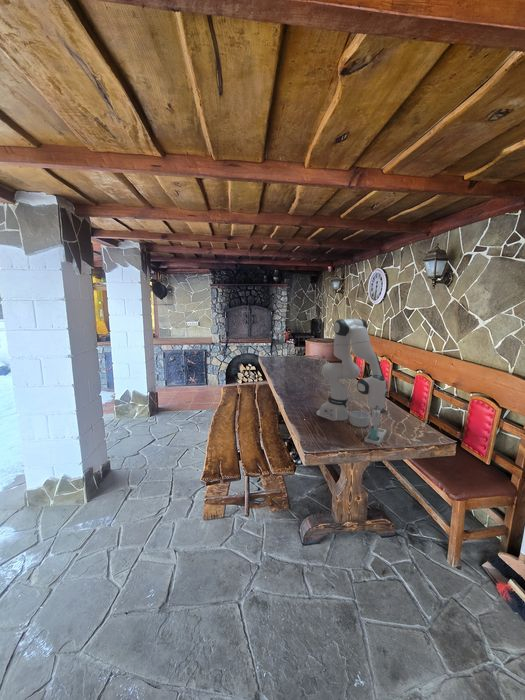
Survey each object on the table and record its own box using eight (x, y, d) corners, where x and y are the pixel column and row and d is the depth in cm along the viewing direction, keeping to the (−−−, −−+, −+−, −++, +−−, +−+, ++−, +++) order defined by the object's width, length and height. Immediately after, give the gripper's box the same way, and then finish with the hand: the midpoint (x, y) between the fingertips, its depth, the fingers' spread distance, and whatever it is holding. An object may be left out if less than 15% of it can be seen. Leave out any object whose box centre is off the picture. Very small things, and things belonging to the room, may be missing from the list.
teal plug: (369, 440, 164) (370, 426, 162) (370, 438, 167) (372, 424, 165) (375, 442, 162) (376, 428, 160) (377, 440, 165) (378, 426, 163)
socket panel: (364, 441, 163) (364, 438, 163) (373, 429, 179) (373, 426, 179) (378, 445, 159) (379, 442, 158) (386, 433, 175) (386, 430, 175)
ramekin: (353, 418, 197) (353, 409, 196) (372, 423, 189) (372, 414, 187) (345, 424, 187) (346, 414, 186) (365, 430, 178) (366, 420, 177)
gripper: (383, 410, 150) (381, 434, 152) (381, 399, 169) (379, 420, 171) (371, 408, 152) (369, 432, 154) (370, 397, 171) (368, 419, 173)
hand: (374, 426), depth 162 cm, fingers open, 8 cm apart
